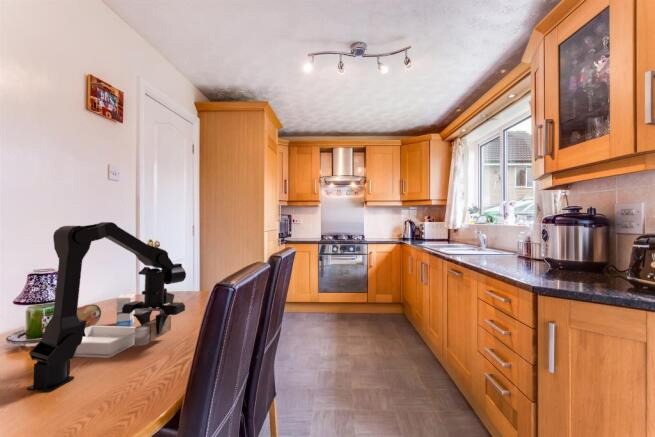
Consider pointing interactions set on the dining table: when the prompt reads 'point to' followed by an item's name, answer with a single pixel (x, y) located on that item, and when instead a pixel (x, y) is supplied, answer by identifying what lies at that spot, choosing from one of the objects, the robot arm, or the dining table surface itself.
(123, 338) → the bin
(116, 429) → the dining table surface
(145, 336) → the strut
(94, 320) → the tin
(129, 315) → the ink box
